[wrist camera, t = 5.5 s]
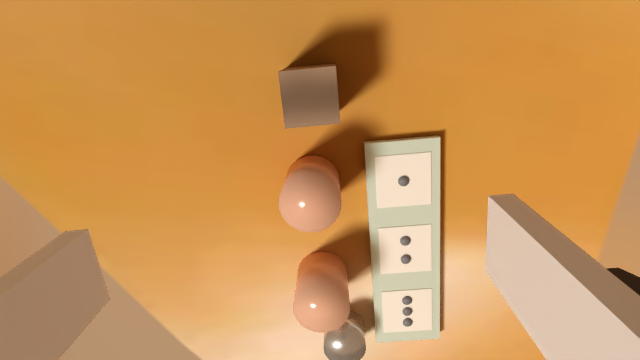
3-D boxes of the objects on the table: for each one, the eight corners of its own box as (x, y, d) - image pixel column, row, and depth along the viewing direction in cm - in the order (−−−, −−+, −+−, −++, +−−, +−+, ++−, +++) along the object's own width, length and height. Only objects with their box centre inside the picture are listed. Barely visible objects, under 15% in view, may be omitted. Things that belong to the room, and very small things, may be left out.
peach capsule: (283, 157, 44) (275, 177, 37) (337, 152, 43) (338, 171, 37) (289, 207, 46) (282, 234, 39) (341, 203, 45) (343, 229, 39)
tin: (322, 310, 50) (321, 332, 46) (361, 308, 50) (364, 329, 46) (325, 342, 52) (325, 366, 48) (364, 340, 51) (366, 363, 48)
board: (363, 141, 43) (364, 144, 42) (437, 135, 43) (440, 137, 41) (375, 337, 51) (376, 343, 50) (437, 333, 51) (440, 339, 50)
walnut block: (286, 67, 41) (278, 71, 34) (334, 63, 40) (335, 65, 34) (291, 115, 42) (285, 128, 36) (338, 111, 42) (340, 123, 35)
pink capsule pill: (295, 253, 48) (290, 286, 41) (345, 249, 47) (347, 282, 41) (300, 295, 49) (296, 334, 43) (348, 292, 49) (351, 330, 42)
